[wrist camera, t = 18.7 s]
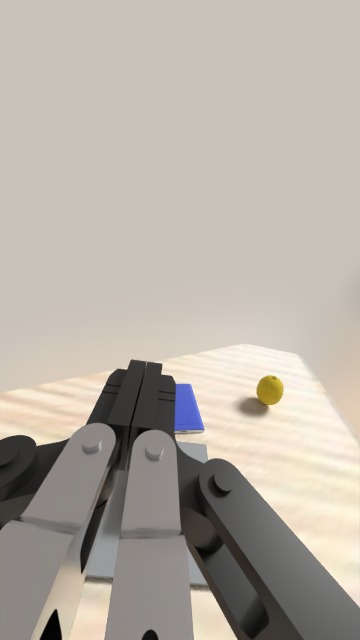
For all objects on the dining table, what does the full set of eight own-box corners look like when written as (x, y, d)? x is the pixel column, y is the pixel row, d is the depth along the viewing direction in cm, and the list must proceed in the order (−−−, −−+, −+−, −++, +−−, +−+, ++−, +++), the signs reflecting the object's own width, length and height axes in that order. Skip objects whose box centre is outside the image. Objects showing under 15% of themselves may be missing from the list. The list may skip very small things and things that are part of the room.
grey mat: (53, 574, 22) (52, 572, 21) (104, 435, 36) (104, 432, 36) (221, 587, 23) (222, 584, 23) (205, 447, 37) (206, 444, 37)
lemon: (265, 393, 54) (276, 368, 50) (281, 410, 49) (293, 384, 46) (248, 395, 52) (258, 369, 49) (261, 413, 47) (274, 386, 44)
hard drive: (157, 383, 49) (162, 430, 38) (191, 383, 51) (204, 428, 40) (157, 388, 50) (161, 436, 39) (189, 388, 51) (203, 434, 40)
